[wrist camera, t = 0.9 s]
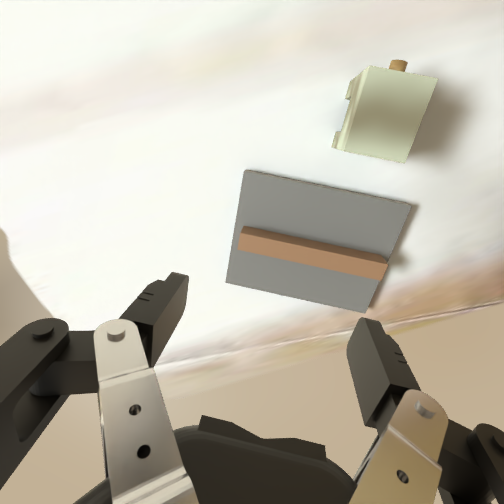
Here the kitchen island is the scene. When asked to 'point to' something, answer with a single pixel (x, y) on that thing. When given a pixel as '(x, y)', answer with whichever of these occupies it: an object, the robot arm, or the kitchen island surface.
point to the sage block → (384, 112)
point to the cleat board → (312, 240)
